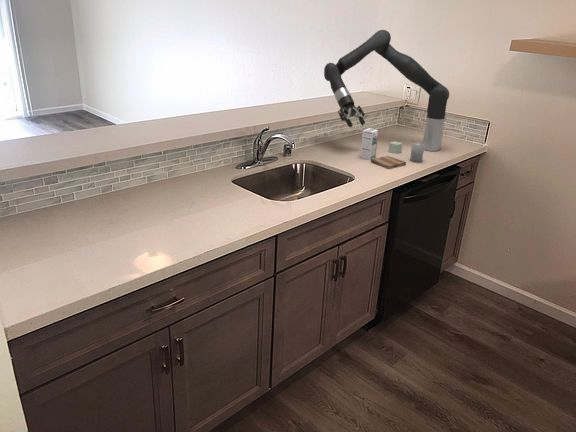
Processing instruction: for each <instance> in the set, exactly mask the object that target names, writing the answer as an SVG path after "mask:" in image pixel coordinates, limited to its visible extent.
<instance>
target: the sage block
mask: <svg viewBox="0 0 576 432" xmlns="http://www.w3.org/2000/svg"><path fill="white" fill-rule="evenodd" d="M402 148H403V143H402V142H401V141H400V142H398V141H395V140H394V141H391V142H389V144H388V153H390V154H395V155H399V154H401V153H402V150H403V149H402Z"/></svg>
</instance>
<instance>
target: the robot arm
mask: <svg viewBox="0 0 576 432" xmlns="http://www.w3.org/2000/svg"><path fill="white" fill-rule="evenodd" d="M391 37H392V36H391V33H390V32H389V31H388V30H386V29H380V30H378V31H376V32H375V33H374V34H373V35H371V36H370V37H369V38H368V39H367V40H366V41H364V42H363V43H362V44H360V45H358V46H357V47H356V48H355V49H353V50H351V51H350V52H348V53H346V54H344V55H343V56H342V57H340V58H339V59H338V60H337V62H336V64H335V63H333V62H328V63H326V64H325V66H324V68H323V76H324V79H325V80H326V81H327V82H329V83H330V89H331V92H332V93H333V95H334V97H335V100H336V102H337V104H338V106H339V109H338V110H337V114H338V116H339V118H340V120H341V121H342V122H343V121H344V122H346V124H347V126H348V127H349V128H352V127H353V126H354V124H353V122H352V121H351V119H350V117H354V118H357V119H358V121H359V124H360V125H361V126H364V125H365V123H366V121H365V119H364V116H366V114H365V113H364V111H363V108H362V107H361V105H358V106H356V105H355V101H354V99H353V98H352V95H351V92H350V91H349V90H348V88H347V85H346V84H345V82H344V80H343V78H342V75H343V74H345V72H346V71H348V70H350V69H351V68H353V67H355V66H356V65H357V64H359V63H360V62H361V61H362V60H363V59H365V57H366V56H368V55H370V54H371V53H372V52H373V51H374V53H376V54H378V55H380V57H383V59H384V60H386V61H387V62H388V63H389V64H390V65H392V66H393V67H394V68H395V69H396V70H397V71H398V72H399V73H400V74H401V75H402V76H403V77H404V78H406V79H407V80H408V81H410V82H411V83H413V84H415V85H417V86H418V87H420V88H422V89H423V90H424V91H425V92H426V93H427V95H428V96H429V97H428V103H427V110H426V120H425V127H424V133H423V139H422V143H424V144H425V146H424V151H428V152H429V151H430V152H438V151H440V150H441V147H442V143H443V142H442V141H443V138H444V137H443V135H444V131H443V130H444V124H445V120H446V119H445V118H446V109H447V105H448V104H447V103H448V100H449V98H450V92H449V90H448V89H449V88H448V87H446V86H445V85H443V84H442V83H440V82H439V81H438V80H436V79H435V78H433V76H431V75H430V73H429V72H428V71H427V70H426V69H425V68H423V66H422V65H421V64H420V63H419V62H418V61H416V60H415V59H414V58H413V57H411V56H410V55H408V54H405V53H403V52H401V51H398V50H397V49H395V48H394V47H393V46H392V45H391V44H390V43H391V40H392V38H391Z"/></svg>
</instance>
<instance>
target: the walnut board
mask: <svg viewBox="0 0 576 432" xmlns="http://www.w3.org/2000/svg"><path fill="white" fill-rule="evenodd" d="M370 163H371V164H374V165H377V166H380V167H382V168H385V169H387V170H392V169H395V168H399V167H405V166H406V165H407V162H406V161H404V160H402V159H400V158H399V159H398V158H395V157H393V156H390V155H385V156H380V157H375V158H373V159H371V160H370Z"/></svg>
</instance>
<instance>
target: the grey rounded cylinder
mask: <svg viewBox="0 0 576 432" xmlns="http://www.w3.org/2000/svg"><path fill="white" fill-rule="evenodd" d="M424 146H425V144H424V143H423V141H422V142H421V141H413V142H412V143H411V150H410V157H409V162H412V163H416V164H419V163H420V164H421V163H422V162H423V158H424V151H425V150H424Z"/></svg>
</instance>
